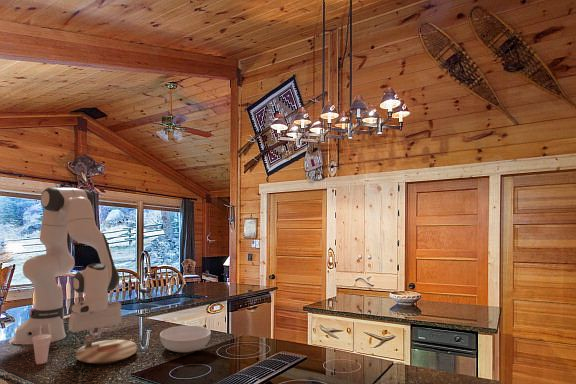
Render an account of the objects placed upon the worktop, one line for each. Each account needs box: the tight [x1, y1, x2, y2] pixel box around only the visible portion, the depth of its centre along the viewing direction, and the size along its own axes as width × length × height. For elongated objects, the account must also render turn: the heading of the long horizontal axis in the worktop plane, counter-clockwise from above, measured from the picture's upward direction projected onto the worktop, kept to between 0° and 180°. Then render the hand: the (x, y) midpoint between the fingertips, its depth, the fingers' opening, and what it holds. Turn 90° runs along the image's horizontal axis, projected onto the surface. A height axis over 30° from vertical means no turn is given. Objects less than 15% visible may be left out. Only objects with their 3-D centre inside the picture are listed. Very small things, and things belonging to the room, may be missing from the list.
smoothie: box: [32, 325, 51, 365], centre depth 164 cm, size 6×6×14 cm
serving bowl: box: [159, 325, 212, 353], centre depth 180 cm, size 21×21×7 cm
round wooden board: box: [75, 334, 138, 364], centre depth 169 cm, size 22×22×6 cm
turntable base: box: [85, 358, 127, 366], centre depth 169 cm, size 16×16×2 cm
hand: (95, 338), depth 175 cm, fingers closed
